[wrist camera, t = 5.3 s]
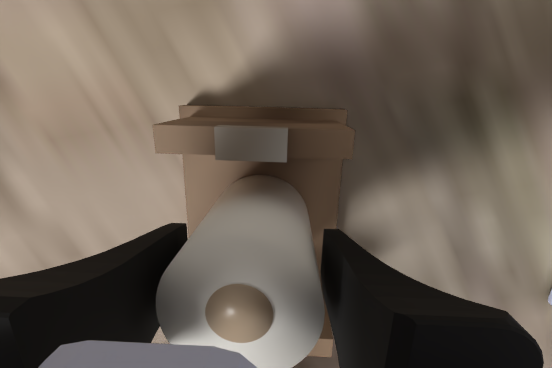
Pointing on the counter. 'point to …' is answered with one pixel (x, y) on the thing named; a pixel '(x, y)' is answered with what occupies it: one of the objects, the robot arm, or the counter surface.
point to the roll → (247, 277)
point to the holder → (262, 161)
